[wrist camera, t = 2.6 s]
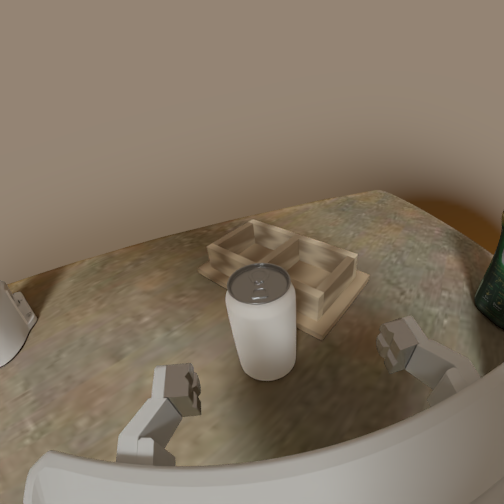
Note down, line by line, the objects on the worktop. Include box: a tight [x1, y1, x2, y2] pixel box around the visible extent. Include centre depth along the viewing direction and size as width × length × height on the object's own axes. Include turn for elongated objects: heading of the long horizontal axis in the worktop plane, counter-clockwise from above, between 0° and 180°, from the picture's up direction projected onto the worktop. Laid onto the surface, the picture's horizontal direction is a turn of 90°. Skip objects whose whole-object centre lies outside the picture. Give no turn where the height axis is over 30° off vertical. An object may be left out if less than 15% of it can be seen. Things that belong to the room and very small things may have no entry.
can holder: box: [197, 219, 370, 341], centre depth 42 cm, size 24×14×5 cm, turn 47°
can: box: [225, 263, 296, 381], centre depth 28 cm, size 6×6×12 cm
